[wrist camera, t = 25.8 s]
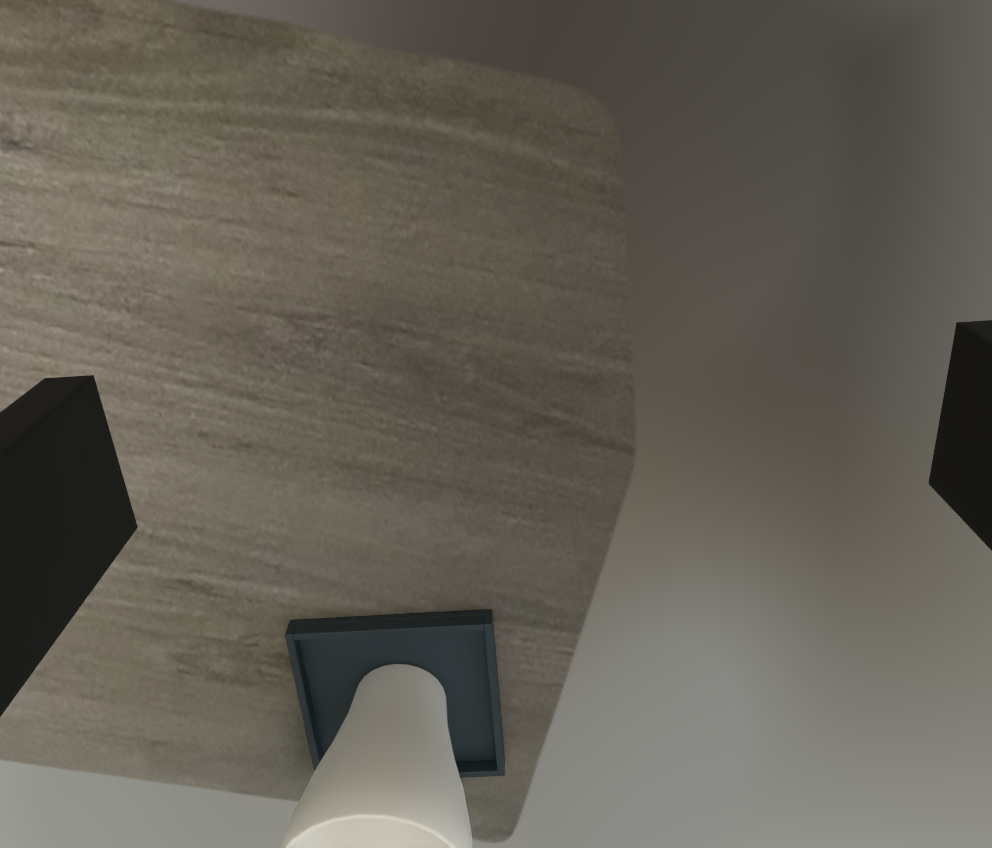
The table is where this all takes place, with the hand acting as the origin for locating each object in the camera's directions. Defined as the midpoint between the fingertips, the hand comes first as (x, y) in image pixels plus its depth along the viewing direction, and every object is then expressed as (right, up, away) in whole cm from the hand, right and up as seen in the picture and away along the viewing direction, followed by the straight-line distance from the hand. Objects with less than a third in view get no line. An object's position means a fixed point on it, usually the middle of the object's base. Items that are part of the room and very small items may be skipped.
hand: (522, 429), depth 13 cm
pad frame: (-7, -18, +43) cm, 47 cm away
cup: (-7, -18, +43) cm, 47 cm away
